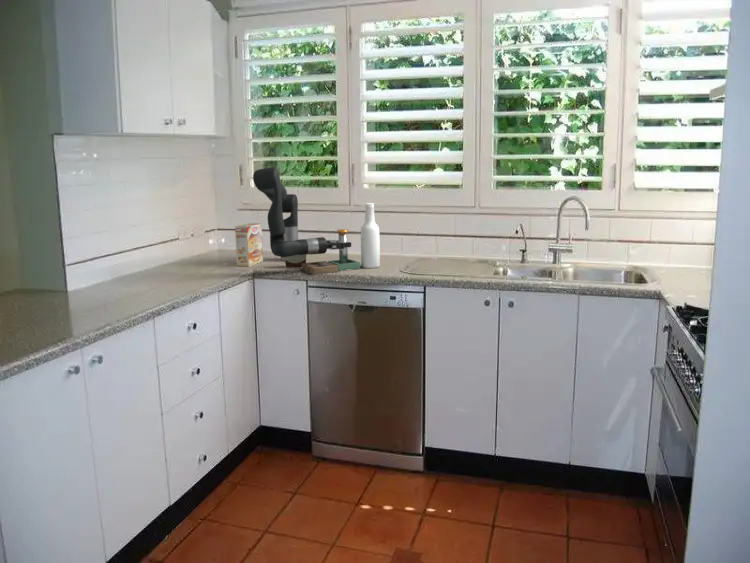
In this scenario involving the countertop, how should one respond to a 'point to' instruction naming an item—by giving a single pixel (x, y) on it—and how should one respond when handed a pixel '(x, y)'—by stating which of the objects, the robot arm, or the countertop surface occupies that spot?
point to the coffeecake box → (249, 244)
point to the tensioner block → (319, 267)
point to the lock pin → (344, 252)
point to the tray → (346, 264)
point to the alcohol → (370, 240)
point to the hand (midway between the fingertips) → (347, 243)
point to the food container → (295, 261)
